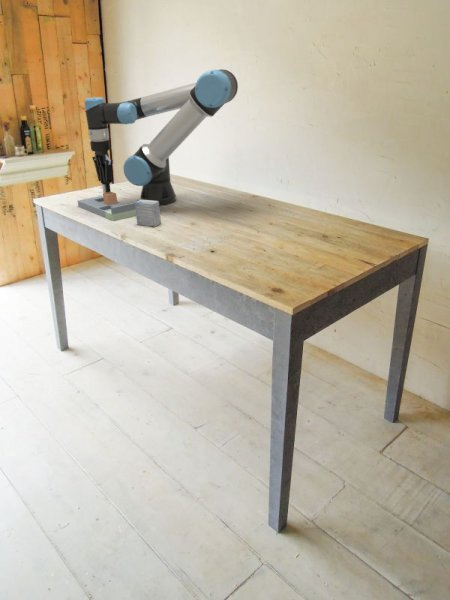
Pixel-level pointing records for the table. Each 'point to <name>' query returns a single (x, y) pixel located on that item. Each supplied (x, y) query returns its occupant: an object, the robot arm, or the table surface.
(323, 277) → the table surface
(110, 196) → the block
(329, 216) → the table surface
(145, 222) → the medicine box
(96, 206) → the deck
